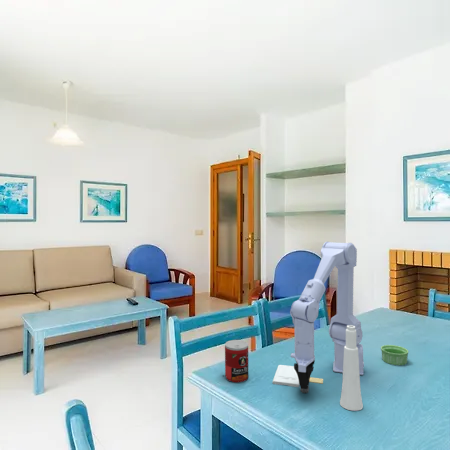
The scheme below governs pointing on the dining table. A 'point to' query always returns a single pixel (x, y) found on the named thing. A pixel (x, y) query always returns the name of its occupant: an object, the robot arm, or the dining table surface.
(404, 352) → the ramekin
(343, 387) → the cosmetic bottle
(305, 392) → the photo-textured cylinder
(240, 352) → the canned food
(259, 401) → the dining table surface
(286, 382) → the external hard drive
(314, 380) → the plate
